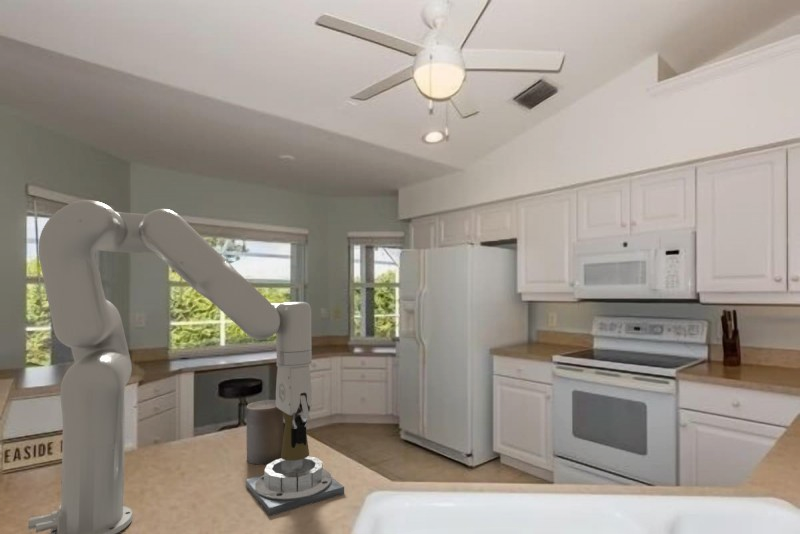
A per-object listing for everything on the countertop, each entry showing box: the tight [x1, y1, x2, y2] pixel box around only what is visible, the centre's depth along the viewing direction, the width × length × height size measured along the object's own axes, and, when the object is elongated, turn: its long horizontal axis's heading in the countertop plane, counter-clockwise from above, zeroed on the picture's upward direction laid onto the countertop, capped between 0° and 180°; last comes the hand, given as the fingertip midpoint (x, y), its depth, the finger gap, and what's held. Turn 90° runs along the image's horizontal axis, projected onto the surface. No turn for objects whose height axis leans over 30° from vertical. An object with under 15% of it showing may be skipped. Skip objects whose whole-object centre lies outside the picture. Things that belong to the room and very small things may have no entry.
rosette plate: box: [245, 455, 345, 517], centre depth 98 cm, size 16×16×5 cm
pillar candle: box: [245, 398, 284, 465], centre depth 117 cm, size 10×10×15 cm
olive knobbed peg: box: [281, 410, 310, 461], centre depth 98 cm, size 6×6×11 cm
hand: (294, 442), depth 98 cm, fingers closed on olive knobbed peg, 3 cm apart
